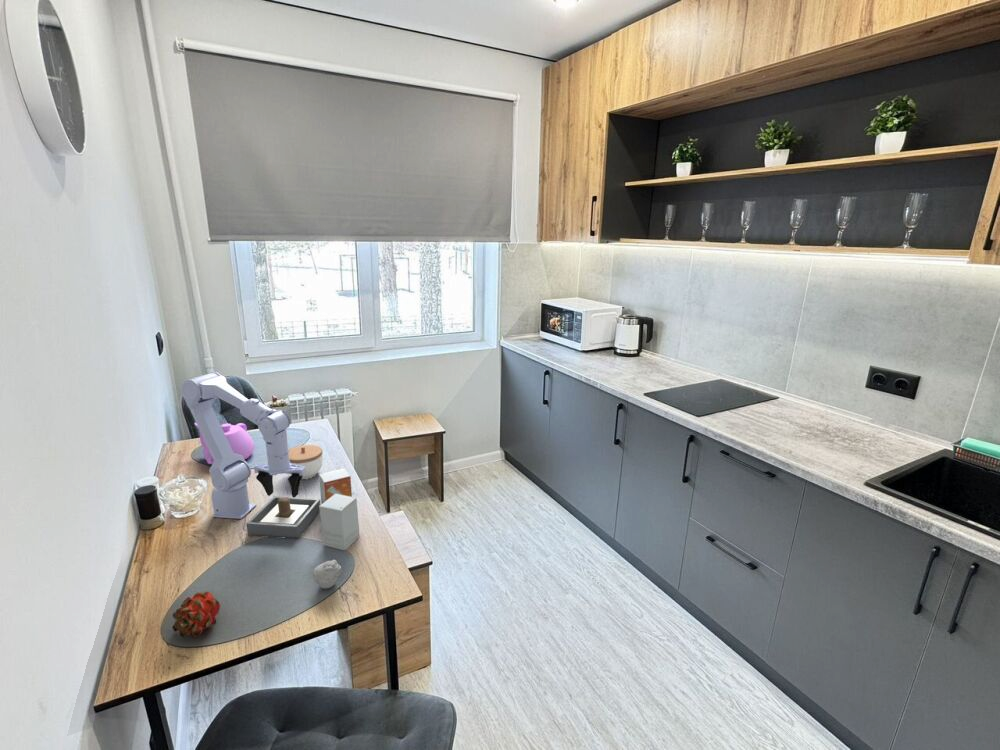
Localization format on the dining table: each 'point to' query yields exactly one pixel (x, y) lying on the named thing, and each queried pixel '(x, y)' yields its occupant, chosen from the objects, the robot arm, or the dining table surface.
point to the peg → (284, 507)
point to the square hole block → (277, 526)
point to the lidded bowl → (307, 459)
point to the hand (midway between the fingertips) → (282, 494)
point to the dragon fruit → (196, 614)
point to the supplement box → (339, 521)
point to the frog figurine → (327, 574)
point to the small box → (335, 484)
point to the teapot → (232, 441)
